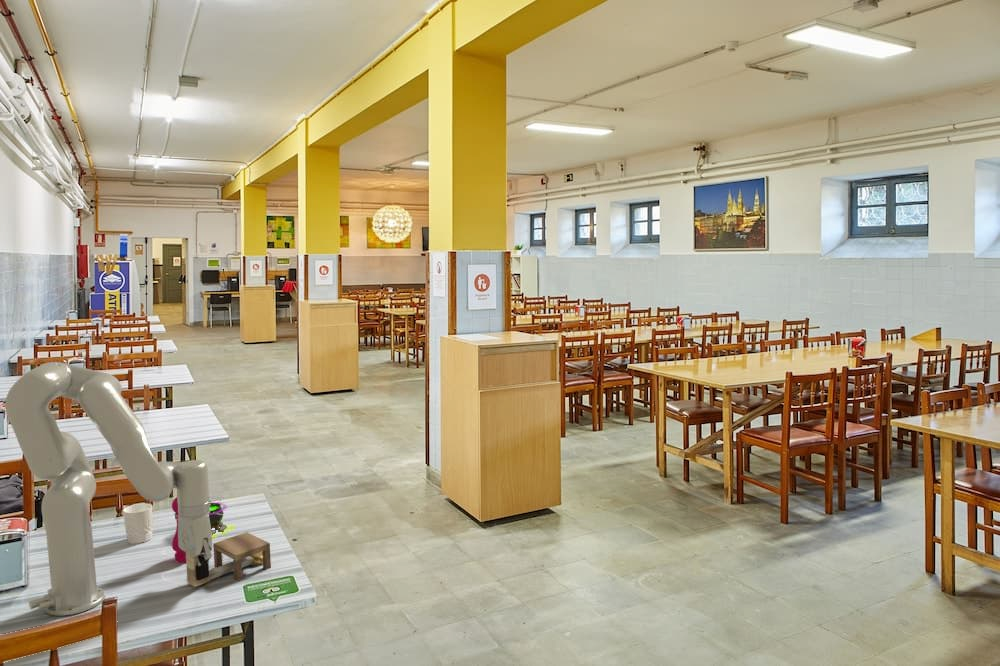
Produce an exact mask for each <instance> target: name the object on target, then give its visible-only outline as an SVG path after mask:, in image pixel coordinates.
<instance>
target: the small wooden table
mask: <svg viewBox="0 0 1000 666" xmlns="http://www.w3.org/2000/svg"><path fill="white" fill-rule="evenodd" d="M212 549H213V562H214V563H213V564H214V568H217V567H220V566H222V565H223V555H225V556H227V558H229V559H232V562H233V565H234V571H233V579H234V580H235V581H239V580H242V579H243V568H242V562H241V559H243V558H245V557H248V556H251V555H254V554H256V553H259V552H262V557H263V565H262V567H263V568H262V569H265V570H268V569H271V567H272V566H271V565H272V563H271V562H272V561H271V560H272V559H271V543H270V542H268V541H267V540H264V539H262V538H260V537H257V536H255V535H254V534H252V533H250V532H247V531H246V532H243V533H239V534H238V535H234V536H231V537H229V538H225V539H223V540H220V541H217V542H212Z"/></svg>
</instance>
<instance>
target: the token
mask: <svg viewBox="0 0 1000 666" xmlns="http://www.w3.org/2000/svg"><path fill="white" fill-rule="evenodd" d="M250 557H252V558H253V564H251V566H261V565H262V566H263V557H262V552H259V553H256V554H254V555H251V556H250Z"/></svg>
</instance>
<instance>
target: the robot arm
mask: <svg viewBox="0 0 1000 666" xmlns="http://www.w3.org/2000/svg"><path fill="white" fill-rule="evenodd" d="M122 390H123V389H122V384H121V382H120V380H119V379H118V378H117V377H116V376H114V375H113V374H110V373H107V372H102V371H100V370H95V369H89V368H85V367H82V366H77V365H73V364H69V363H65V362H59V361H50V362H45V363H42V364H40V365H39V366H37V367H35V368H32V369H31V370H29V371H27V373H25V374H23V375H22V376H21V377H20V378H19V379H17V380H16V382H15V383H14V384H13V385H12V386H11V387H10V388H9V391H8V392H7V394H6V398H5V401H4V402H5V403H4V404H5V405H4V406H5V412H6V415H7V419H8V421H9V424H10V427H11V428H12V430H13V432H14V434H15V437H16V439H17V442H18V445H19V447H20V450H21V452H22V454H23V456H24V459H25V461H26V463H27V466H28V468H29V470H30V472H31V473H32V475H34V477H36V478H39V479H41V480H46V481H47V480H49V483H50V486H49V488H48V489H47V491H46V492H45V493H44V495H43V498H42V501H41V515H42V516H41V517H42V520H43V524H44V528H45V536H46V545H47V546H46V547H47V552H48V553H47V555H48V567H49V576H50V577H49V578H50V587H51V588H50V589H48V590H47V593H46V594H44V595H43V596H42V597H40V598H35V599H33V600H29V602H28V606H29V609H30V610H34V609H36V608H38V609H39V610H43V609H45V612H46V613H47V614H48V615H51V616H57V617H58V616H59V617H62V616H71V615H76V614H79V613H83V612H86V611H89V610H90V609H93V608H95V607H97V606H98V605H99V604H101V603H102V602H101V600H102V599H103V600H104V599H105V591H104V589H102V588H100V587H97V575H96V562H95V549H94V539H93V538H94V537H93V528H92V520H91V516H90V511H89V509H90V508H89V507H90V502H91V501H92V500H93V498H94V495H95V493H96V490H97V482H96V478H95V475H94V472H93V471H92V468H91V466H90V464H89V461H88V459H87V457H86V454H85V452H84V451H85V450H84V449H83V447H82V445H81V443H80V442H79V440H78V438H76V437H75V436H74V435H72V434H70V433H68V432H66V431H62V430H61V431H60V429H59V426H58V423H57V421H56V418H55V417H54V415H53V414H52V412H51V411H50V406H49V405H50V403H51V402H52V401H54V400H55V399H58V398H59V397H61V398H65V399H70V400H75V401H78V404H79V405H80V407H81V408H82V410H83V411H84V413H85V415H87V417H88V418H89V419H90V421H91V422H92V423H93V424H94V426H95V427H96V428H97V430H98V431H99V432H100V434H101V435H102V437H103V438H104V440H105V441H106V442H107V444H108V445H109V446H110V448H111V450H112V451H111V452H112V453H113V455H114V457H115V459H116V461H117V462H118V464H119V466H120V469H121V470H122V472H123V473H124V475H125V476H126V478H127V479H128V481H129V482H130V483H131V485H132V486H133V487H134V489H135V490H136V492H137V493H138V494H139V495H140V496H141V497H143V498H144V499H145V500H147V501H149V502H153V503H154V502H155V503H156V502H162V501H164V500H166V499H168V497H169V496H170V495H171V493H172V492H173V490H174V489H176V494H177V495H176V497H177V499H178V514H179V518H178V546H179V548H180V549H181V550H183V551H185V552H186V553H188V554H190V555H192V556H194V557H196V562H197V565H196V566H195V567H196V580H198V581H199V580H202V579H204V578H207V577H209V570H210V560H211V559H212V558H213V555H212V551H213V538H212V533H211V525H210V519H209V515H208V514H209V513H210V503H211V502H210V498H209V497H210V491H209V490H210V488H209V471H208V465H207V463H206V462H205V461H203V460H201V459H194V460H193V459H192V460H191V459H190V460H186V461H157V459H156V458H155V457H154V455H153V453H152V451H151V449H150V447H149V443H148V441H147V436H146V435H147V434H146V430H145V427H144V426H143V423H142V422H141V420H140V419H139V418H138V416H137V415H136V414H135V412H134V410H133V409H132V408H131V407H130V405H129V404H128V403H127V401H126V400H125V398H124V397H123V396H122ZM201 550H203V552H201ZM201 555H204V556H203V557H202V558H201V559H200V556H201ZM208 563H209V565H208Z"/></svg>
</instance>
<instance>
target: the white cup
mask: <svg viewBox="0 0 1000 666" xmlns="http://www.w3.org/2000/svg"><path fill="white" fill-rule="evenodd" d="M122 513H123V519H124V528H125V533H126V538H127V539H126V540H127V543H128V544H131V545H138V544H143V543H142V542H144V543H147V542H149V541H151V540H152V539H151V538H153V519H154V518H153V515H154V514H153V505H152V504H151V503H136V504H132V505H128V506H126V507H125V508H123V509H122ZM150 539H151V540H150ZM148 540H149V541H148ZM146 541H147V542H146Z"/></svg>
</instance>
